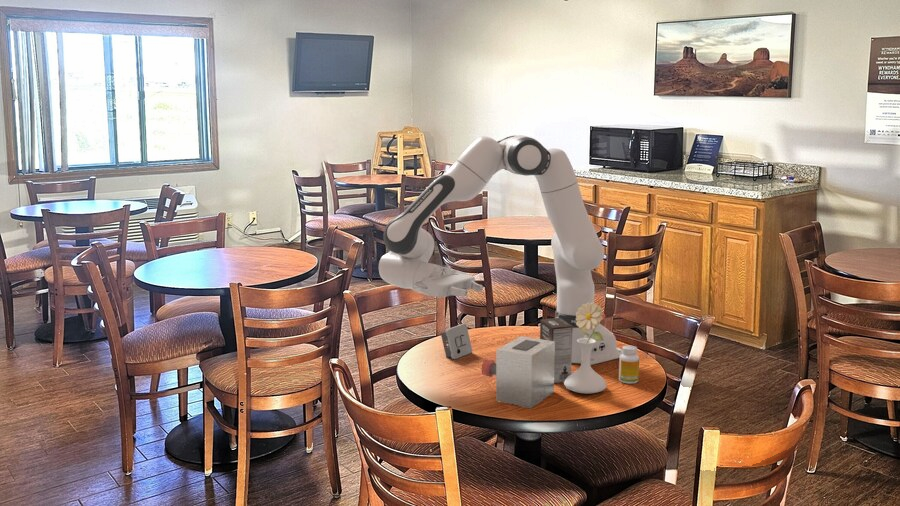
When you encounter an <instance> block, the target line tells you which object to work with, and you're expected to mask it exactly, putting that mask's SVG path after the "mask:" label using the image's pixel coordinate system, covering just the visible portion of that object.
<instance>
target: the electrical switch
mask: <svg viewBox="0 0 900 506" xmlns="http://www.w3.org/2000/svg"><path fill="white" fill-rule="evenodd" d="M440 336H441V341H442V346H443V350H444V353H445V358H451V359H452V360H453V359H454V360H457V359H459V358H463V357H465V356H467V355H470V354H472V353H473V348H472V343H471V338H470V333H469V329H468V326H467V324H466V323H461V324H458V325H456V326H452V327H450V328H447V329H445V331H442V332H440Z"/></svg>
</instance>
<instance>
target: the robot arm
mask: <svg viewBox="0 0 900 506" xmlns="http://www.w3.org/2000/svg"><path fill="white" fill-rule="evenodd" d="M501 170H505V171H508V172H510V173H512V174H514V175H519V176H526V177H527V176H534V178H535V179H536V182H537V184H538V187H539V190H540V191H539V192H540V194H541V198H542V201H543V204H544V207H545V212H546V214H547V217H548V219H549V221H550V223H551V225H552V227H553V230H554V232H553V235H552V237H551V242H550V244H551V245H550V246H551V249H552V255H553V262H554V263H553V264H554V265H553V266H554V271H555V277H556V310H554V318H562V319H563V320H564V321H566V322H567V323H569V324H570V325H572V326H573V332H572V362H571V364H580V365H581V363H582V353H581V348H580V345H579V343H578V342H577V340H578V339H580V338H589V336H591V334H592V333H593V330H591V329H589V330H588V331H586V332H587V333H588V334H589V336H587V335H585V334H584V333H582V332H581V331H580V329H579V326H577V325H576V322H577V321H576V318H577V317H576V315H577V314H576V313H577V312H579V308H582V305H583V304H585V305H586V304H587V303H590V304H591V303H593V302H594V303H595V283H594V281H593V276H592V270H594V269H595V270H596V269H597V268H598V267H599V266H600V265H601V264H602V263H603V261H604V258H605V248H604V246H603V244H602V242H601V241H600V238H599V236H598V234H597V231H596V228H595V227H594V224H593V222H592V219H591V217H590V215H589V213H588V211H587V208H586V206H585V204H584V200H583V197H582V193H581V189H580V185H579V183H578V179H577V175H576V173H575V170H574V168H573V165H572V163H571V160H570V159H569V157H568V155H567V153H566V152H565V151H564V150H562V149H561V148H549V149H547V148H546V147H545V146H544V145H543V144H542V143H541V142H539V141H538V140H537V139H535V138H533V137H529V136H526V135H520V134H519V135H510V136H507V137H505V138H504V137H503V138H502V139H499V140H497V141H496V140H495V139H494V138H492V137H489V136H485V135H484V136H479V137H478V138H477V139H475V140H473V142H472V143H470V145H468V147H467V148H466V149H465V150H463V151H462V153H460V155H459V156H458V157H457V159H456V160H455V161H454V162H453V164H452V165H451V166H450V167H449V168H448V169H447V170H446V171H445V172H444V173H442V174H441V175H439V176H438V177H437V178H436V179H434V180H433V181H432V182H431V183H430V184H429V185H428V186H427V187H426V188H425V189H424V190H423V191H422V192H421V193H420V194H419V196H417V198H416V199H414V201H413V202H412V203H411V204H410V205H409V206H408V207H407V208H406V209H405V210H404V211H403V212H402V213H400V214H399V215H397V216H396V217H395V216H394V217H393V218H392V219H391V220H390V221H389V222H388V223H387V224H386V226H385V227H384V230H383V237H382V238H383V244H384V245H385V248H386V249H387V250H388V252H387V253H385V254H384V255H382V256H381V257H380V260H379V261H378V272H379V273H378V274H379V276H380V278H381V279H382V280H383V282H385V283H388V284H390V285H392V286H395V287H398V288H401V289H404V290H405V289H406V290H408V289H409V290H412V291H413V292H415V293H420V294H422V295H426V296H429V297H434V298H439V299H442V298H443V299H444V298H445V297H446V298H447V297H450V296H455V297H456V296H457V297H462V298H465V297H467V296H468V291H469V290H474V292H478V293H481V292H483V290H484V286H483V285H482V284H479V283H477V282H475V279H476V278H475V277H474V276H473V275H472V274H470V273H467V272H463V271H460V270H457V269H452V267H451V266H449V265H446V264H444V265H443V264H442V265H441V264H440V265H439V264H435V263H431V262H430V260H431V258H432V256H433V253H434V251H435V248H436V247H435V246H436V244H435V243H436V241H435V239H434V236H433V235H432V234H431V233H430V232H428V231H427V230H426V229H425V228H423V225H425V223H426V222H427V221H428V220H429V219H430V218H431V217H432V216H433V214H434V213H435V212H436V211H438V209H439V208H440V207H441V206H443V205H445V204H447V203H451V202H467V201H471V200H473V199H474V198H476V197H477V196H478V195H479V194H480V193H481V192H482V191H483V190H484V188H485V187H486V185H487V184H489V182H490V180H491V179H492V178H493V176H494V175H495V174H496V173H498V172H499V171H501ZM602 313H603V312H602ZM602 317H603V319H602V320H601V321H604V320H605V319H606V317H607V316H606V314H605V313H603V315H602ZM596 331H600V333H601V335H602V338H603V340H601V341H596V342H595V344H594V345H593V347H592V350H591V355H590V366H593V365H597V364H600V363H604V362H605V363H606V362H608V361H612V360H616V359H619V358H620V355H621V354H622V353H623V352H622V348H620V347H618V345H617V338H616V336H615V335H614V333H613V332H612V331H610V330H609V329H608V328H606V327H605V326H604V325H602V323H600V324H597V327H596V328H595V331H594V332H596ZM590 339H594V337H593V335H592V337H591V338H590Z"/></svg>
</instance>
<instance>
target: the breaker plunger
mask: <svg viewBox="0 0 900 506" xmlns="http://www.w3.org/2000/svg"><path fill="white" fill-rule="evenodd" d="M481 374H482V376H486V377H490V378H491V377H493V376H496V361H495V360H493V359H487V358H486V359H485V360H483V362H482V364H481Z"/></svg>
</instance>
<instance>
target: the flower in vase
mask: <svg viewBox="0 0 900 506" xmlns="http://www.w3.org/2000/svg"><path fill="white" fill-rule="evenodd" d="M603 311H604V310H603V308H601V306H600V305H598V304H597V303H595V301H594V302H593V303H591V304H590V303H587V304H586V305H585V304H583V305H582V308H579V312H577V313H576V314H577V315H576V317H577V318H576V321H577V322H576V325H577V326H579V329H580V331H581V332H582V333H584V334H585V335H587V336H589V334H588V333H587V332H586V331H588V330H589V329H591V330H593V333H592V334H591V336H589V338H580V339H578V340H577V342H578V343H579V345H580V348H581V353H582V363H581V364H580V366H579V368H577V369H576V370H575V371H573V372H571V375H569V376H568V377H567V378H566V379H565V381H564V382H563V385H564V387H565V388H566V389H568V390H570V391H572V392H574V393H578V394H587V395H588V394H589V395H591V394H596V393H599V392H602V391H604V390H605V389H606V388H607V385H608V384H607V382H606V380H605V379H604V377H602V376H601V375H600V374H599V373H597V372H596V371H595V370H594V369H593V368H592V365H590V355H591V350H592V347H593V345H594V344H595V342H596V341H601V340H603V338H602V335H601V333H600V331H596V332H594V331H595V328H596V327H597V324H601V321H603V320H602V319H603V317H602V315H603ZM592 335H593V337H594V339H590V338H591V337H592Z"/></svg>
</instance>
